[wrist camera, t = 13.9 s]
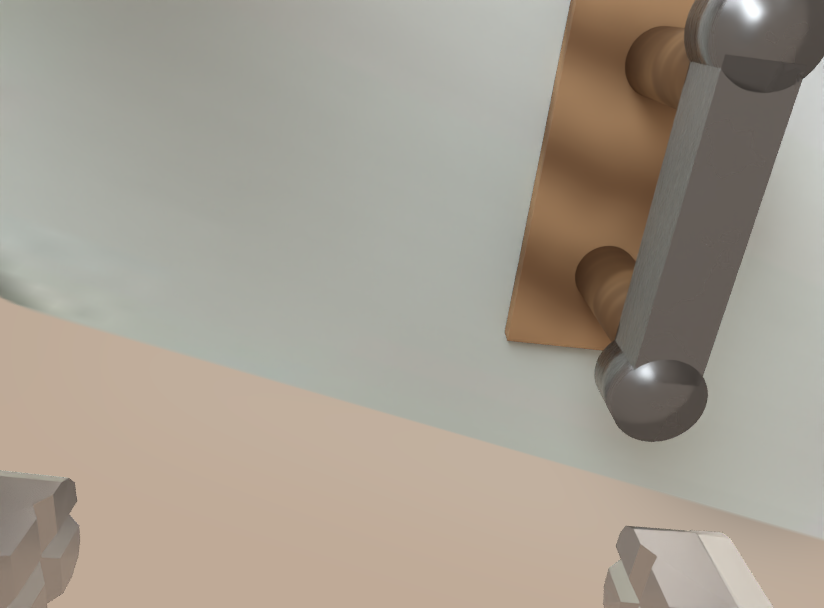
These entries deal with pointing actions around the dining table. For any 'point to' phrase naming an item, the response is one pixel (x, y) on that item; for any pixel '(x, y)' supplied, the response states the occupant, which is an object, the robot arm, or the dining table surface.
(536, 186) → the spanner rest
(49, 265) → the dining table surface
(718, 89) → the metal bar
